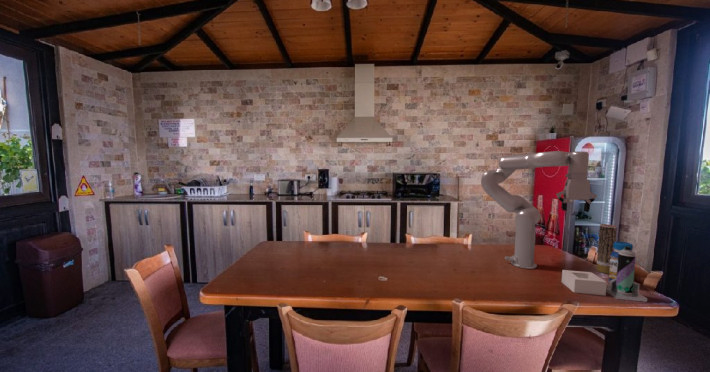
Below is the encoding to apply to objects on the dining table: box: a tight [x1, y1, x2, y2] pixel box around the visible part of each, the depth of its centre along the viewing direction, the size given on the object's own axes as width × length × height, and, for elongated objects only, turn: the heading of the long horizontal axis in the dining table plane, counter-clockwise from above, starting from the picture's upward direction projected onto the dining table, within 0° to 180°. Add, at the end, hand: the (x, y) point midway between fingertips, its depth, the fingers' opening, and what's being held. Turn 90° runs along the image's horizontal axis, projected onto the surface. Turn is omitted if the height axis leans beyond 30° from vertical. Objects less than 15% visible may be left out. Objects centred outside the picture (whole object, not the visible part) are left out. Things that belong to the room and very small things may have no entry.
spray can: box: [616, 246, 637, 295], centre depth 128 cm, size 6×6×20 cm
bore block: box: [561, 269, 608, 296], centre depth 135 cm, size 12×12×6 cm
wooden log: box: [595, 223, 618, 275], centre depth 157 cm, size 7×7×25 cm
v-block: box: [606, 278, 648, 303], centre depth 130 cm, size 11×11×6 cm
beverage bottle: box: [607, 241, 634, 282], centre depth 140 cm, size 8×8×20 cm
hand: (575, 211), depth 148 cm, fingers open, 9 cm apart
